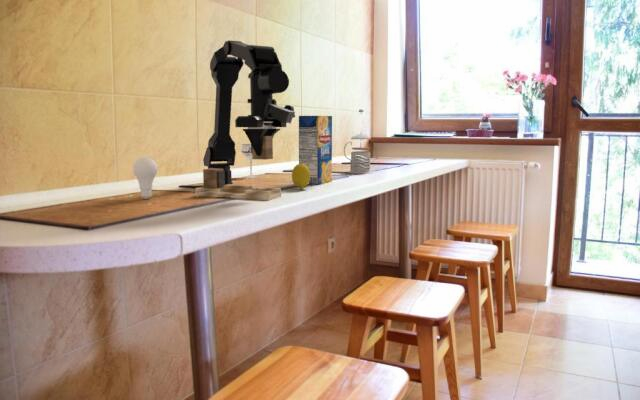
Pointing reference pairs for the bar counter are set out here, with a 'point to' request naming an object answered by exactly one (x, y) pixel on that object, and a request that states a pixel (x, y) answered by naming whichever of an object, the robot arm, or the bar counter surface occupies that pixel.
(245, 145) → the wineglass
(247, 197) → the rail
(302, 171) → the lemon
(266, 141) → the beige cardboard cube
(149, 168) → the lightbulb
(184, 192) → the bar counter surface
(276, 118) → the robot arm
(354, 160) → the french press
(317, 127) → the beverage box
